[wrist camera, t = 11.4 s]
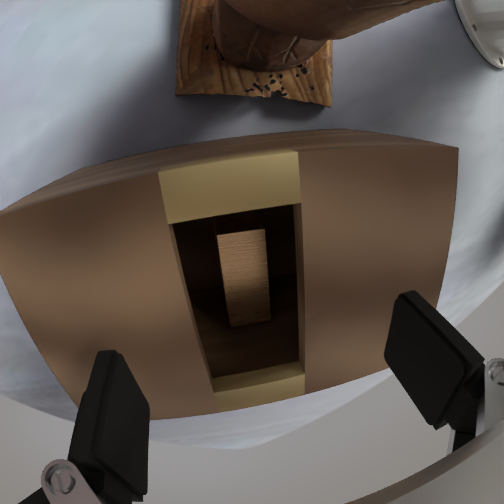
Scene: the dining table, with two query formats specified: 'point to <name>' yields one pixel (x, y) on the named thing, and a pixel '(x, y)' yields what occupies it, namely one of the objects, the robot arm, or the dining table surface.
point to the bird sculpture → (271, 43)
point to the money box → (208, 270)
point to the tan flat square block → (243, 267)
